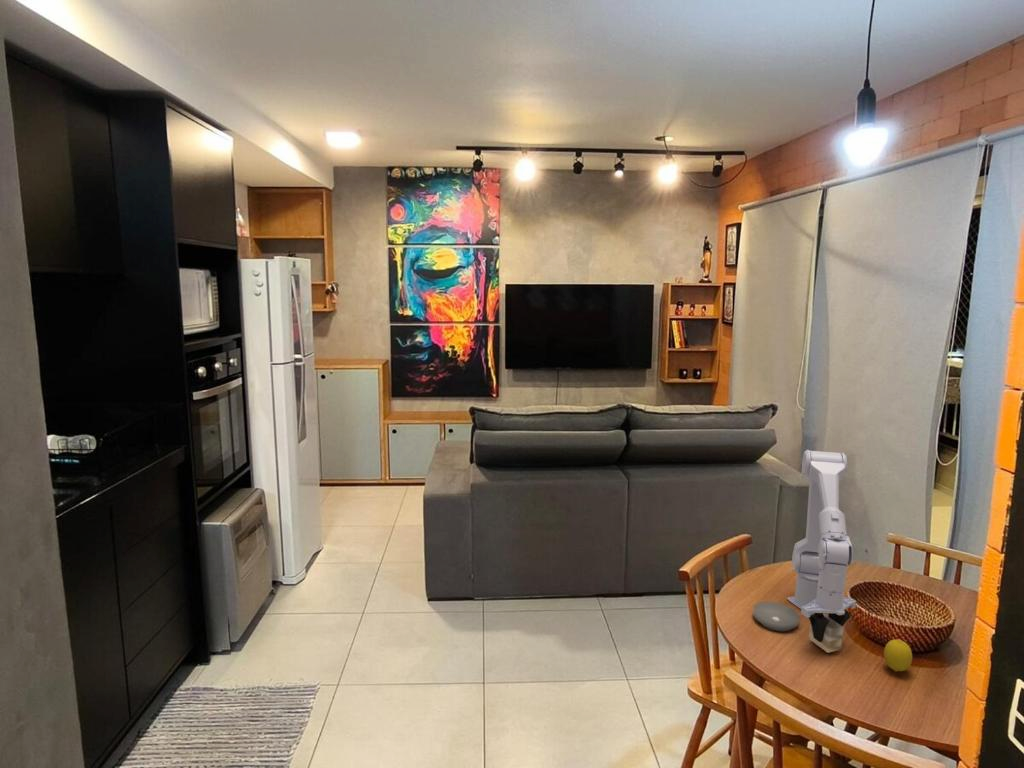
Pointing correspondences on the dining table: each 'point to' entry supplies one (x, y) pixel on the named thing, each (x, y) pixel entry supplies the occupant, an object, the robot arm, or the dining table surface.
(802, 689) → the dining table surface
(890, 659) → the lemon
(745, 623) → the dining table surface
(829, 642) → the block
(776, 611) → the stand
